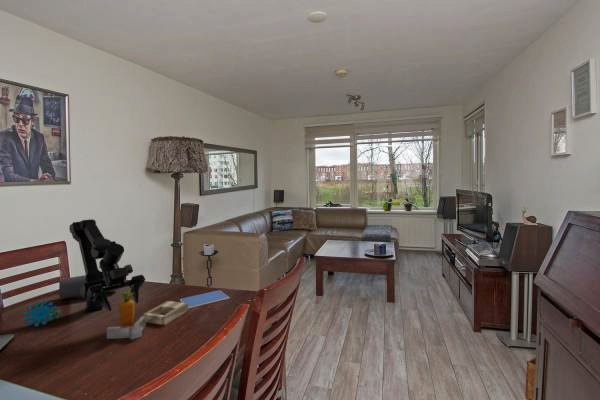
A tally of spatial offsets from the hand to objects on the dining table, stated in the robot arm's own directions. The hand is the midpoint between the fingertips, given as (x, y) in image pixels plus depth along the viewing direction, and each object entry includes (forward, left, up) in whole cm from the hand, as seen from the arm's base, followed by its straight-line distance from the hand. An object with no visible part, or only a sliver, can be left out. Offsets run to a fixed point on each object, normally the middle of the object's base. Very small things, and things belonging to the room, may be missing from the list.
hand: (124, 306), depth 116 cm
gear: (-21, -29, -9) cm, 37 cm away
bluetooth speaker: (-47, -17, -9) cm, 51 cm away
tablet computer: (-18, +31, -10) cm, 37 cm away
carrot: (+2, +1, -9) cm, 9 cm away
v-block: (+5, +2, -9) cm, 10 cm away
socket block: (-7, +14, -9) cm, 18 cm away
